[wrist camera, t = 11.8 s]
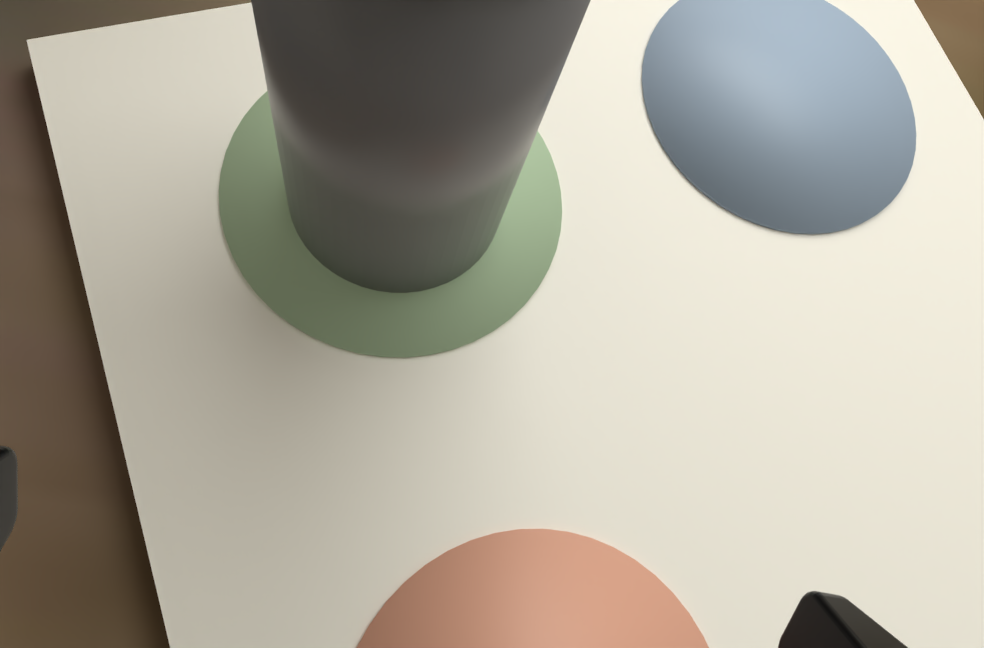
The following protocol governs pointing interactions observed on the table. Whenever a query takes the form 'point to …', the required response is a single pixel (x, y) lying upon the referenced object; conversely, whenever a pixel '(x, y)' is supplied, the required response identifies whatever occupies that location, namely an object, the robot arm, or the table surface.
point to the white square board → (554, 344)
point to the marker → (407, 124)
